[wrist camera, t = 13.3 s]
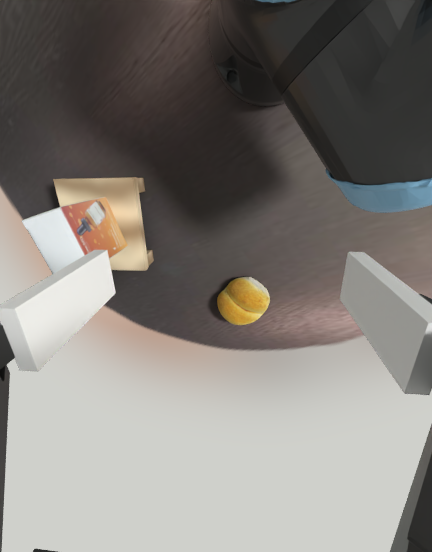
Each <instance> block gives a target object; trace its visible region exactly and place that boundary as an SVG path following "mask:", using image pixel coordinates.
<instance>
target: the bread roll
mask: <svg viewBox="0 0 432 552" xmlns="http://www.w3.org/2000/svg"><path fill="white" fill-rule="evenodd" d="M269 302H270V296H269V293H268V291H267V289H266V288H265V287H264V286H263V285H262V284H261V283H259V282H258V281H257V280H255V279H253V278H252V277H241V278H236V279H234V280H233V281H231V282H230V283H229V284H228V286H227V287H226V288H225V290H223V291H222V292H221V293H220V294H219V296H218V298H217V304H218V309H219V311H220V313H221V315H222V316H223V317H224V318H225V319H226V320H227V321H228V322H230V323H232V324H236V325H245V324H249V323H252V322H254V321H256V320H257V319H259V318H260V317H261V316H262V314H263V313H264V312H265V311H266V310H267V308H268V305H269Z"/></svg>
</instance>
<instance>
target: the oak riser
mask: <svg viewBox="0 0 432 552" xmlns="http://www.w3.org/2000/svg"><path fill="white" fill-rule="evenodd" d="M53 180H54V184H55V188H56V192H57V196H58V200H59V204H60V207H62V206H66V205H70V204H75V203H79V202H83V201H88V200H92V199H96V198H101V197H106V198H107V200H108V202H109V205H110V207H111V210H112V212H113V214H114V216H115V219H116V221H117V223H118V226H119V228H120V230H121V232H122V235H123V237H124V239H125V241H126V243H127V245H128V247H126V248H125V249H123V250H122V251H120V252H119V253H117V254H116V255H114V256H113V257H111V258H110V259H109V261H110V267H111V270H147V269H148V267H149V265H150V264H151V263H152V262H153V253H152V250H146V243H145V236H144V228H143V221H142V213H141V205H140V198H139V193H141V192H144V191H145V188H144V180H143V178H137V177H125V178H77V179H53Z"/></svg>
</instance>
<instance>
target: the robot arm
mask: <svg viewBox="0 0 432 552" xmlns="http://www.w3.org/2000/svg"><path fill="white" fill-rule="evenodd" d="M208 34H209V45H210V50H211V54H212V58H213V61H214V64H215V67H216V70H217V72H218V74H219V76H220V78H221V79H222V81H223V83H224V84H225V85H226V87H227V88H228V89H229V90H230V91H231V92H232V93H233V94H234V95H236V96H237V97H238V98H240V99H241V100H243V101H245V102H247V103H250V104H253V105H258V106H273V105H278V104H282V103H285V104H286V106H287V107H288V109H289V110H290V112H291V113H292V115H293V117H294V118H295V120H296V121H297V123H298V125H299V126H300V128H301V129H302V131H303V132H304V134H305V136H306V137H307V139H308V140H309V142H310V144H311V145H312V147H313V148H314V150H315V151H316V153H317V155H318V156H319V158H320V159H321V161H322V162H323V164H324V166H325V167H326V173H327V175H328V177H329V178H330V179H331V180H332V181H333V182H334V183H336V184H337V185H338V187H339V188H340V190H341V191H342V193H343V194H344V195H345V197H346V198H347V199H348V201H349V202H350V203H351V204H353V205H354V206H357V207H359V208H360V209H363V210H366V211H370V212H380V213H389V212H400V211H407V210H412V209H417V208H422V207H426V206H429V205H432V0H212V2H211V7H210V12H209V24H208ZM114 294H115V287H114V282H113V277H112V272H111V267H110V261H109V256H108V251H107V250H93V251H92V252H90V253H88V254H86V255H85V256H83V257H81V258H80V259H78V260H76V261H74V262H73V263H71V264H69V265H68V266H66V267H64V268H62V269H61V270H59V271H57V272H56V273H54V274H52V275H50V276H49V277H47V278H45V279H44V280H42V281H40V282H38V283H37V284H35V285H33V286H31V287H30V288H28V289H27V290H25V291H23V292H21V293H19V294H18V295H16V296H14V297H13V298H11V299H9V300H7V301H6V302H4V303H2V304H1V305H0V552H1V548H2V526H3V506H4V483H5V463H6V442H7V420H8V399H9V378H10V372H9V370H8V367H7V364H8V363H9V362H10V361H11V360H12V359H14V358H15V360H16V363H17V365H18V368H19V370H22V371H39V370H40V369H41V368H42V367H43V366H44V365H45V364H46V363H47V362H48V361H49V360H50V359H51V358H52V357H53V356H54V355H55V354H56V353H57V352H58V351H59V350H60V349H61V348H62V347H63V346H64V345H65V344H66V343H67V341H69V340H70V339H71V337H73V336H74V335H75V334H76V332H78V331H79V330H80V329H81V328H82V327H83V326H84V325H85V324H86V323H87V322H88V320H89V319H90V318H91V317H92V316H93V315H94V314H95V313H96V312H97V311H98V310H99V309H100V308H101V307H102V306H103V305H104V304H105V303H106V302H107V301H108V300H109V299H110V298H111V297H112V296H113V295H114ZM340 300H341V302H342V303H343V305H344V306H345V307H346V309H347V310H348V312H349V313H350V315H351V316H352V318H353V319H354V321H355V322H356V324H357V325H358V326H359V328H360V329H361V331H362V332H363V334H364V335H365V337H366V338H367V340H368V341H369V342H370V344H371V345H372V347H373V348H374V350H375V351H376V353H377V354H378V356H379V357H380V359H381V360H382V362H383V363H384V364H385V366H386V367H387V369H388V370H389V372H390V373H391V374H392V376H393V378H394V379H395V380H396V382H397V383H398V385H399V386H400V388H401V389H402V391H403V392H404V393H405V394H421V395H429V394H430V392H431V389H432V299H431V298H428V297H426V296H424V295H422V294H418V293H416V292H415V291H414V290H412V289H411V288H410V287H409V286H407V285H406V284H405V283H403V282H402V281H401V280H399V279H398V278H397V277H396V276H394V275H393V274H392V273H390V272H389V271H388V270H386V269H385V268H384V267H382V266H381V265H380V264H379V263H377V262H376V261H375V260H373V259H372V258H371V257H369V256H368V255H367V254H366V253H364V252H348V256H347V261H346V267H345V272H344V278H343V283H342V289H341V295H340ZM33 552H55V551H48V550H41V549H34V550H33ZM390 552H432V425H431V428H430V431H429V434H428V437H427V441H426V443H425V446H424V449H423V452H422V455H421V458H420V461H419V465H418V468H417V471H416V474H415V477H414V480H413V483H412V486H411V489H410V492H409V495H408V498H407V501H406V504H405V507H404V510H403V513H402V516H401V519H400V523H399V526H398V529H397V532H396V535H395V538H394V541H393V544H392V547H391V550H390Z"/></svg>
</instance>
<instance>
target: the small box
mask: <svg viewBox="0 0 432 552" xmlns="http://www.w3.org/2000/svg"><path fill="white" fill-rule="evenodd" d="M22 223H23V224H24V226H25V227H26V229H27V230H28V232H29V234H30V235H31V237H32V239H33V240H34V242H35V244H36V246H37V247H38V249H39V251H40V253H41V254H42V256H43V258H44V259H45V261H46V263H47V265H48V267H49V268H50V270H51V272H52V274H54V273H56V272H57V271H59V270H61V269H62V268H64V267H66V266H68V265H69V264H71V263H73V262H74V261H76V260H78V259H80V258H81V257H83V256H85V255H86V254H88V253H90V252H92V251H93V250H107V251H108V256H109V259H110V258H111V257H113V256H114V255H116V254H117V253H119V252H120V251H122V250H123V249H125V248H126V247H128V245H127V243H126V241H125V239H124V237H123V235H122V232H121V230H120V228H119V226H118V223H117V221H116V219H115V216H114V214H113V212H112V210H111V207H110V205H109V202H108V200H107V198H106V197H101V198H96V199H92V200H88V201H83V202H79V203H75V204H70V205H66V206H62V207H59V208H56V209H53V210H50V211H47V212H44V213H41V214H38V215H35V216H32V217H30V218H27V219H24V220H22Z"/></svg>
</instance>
